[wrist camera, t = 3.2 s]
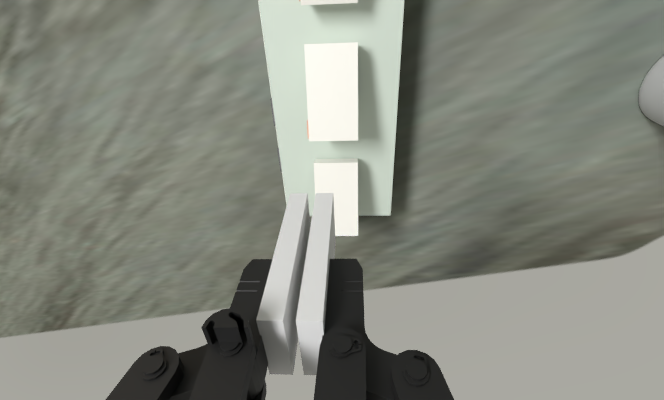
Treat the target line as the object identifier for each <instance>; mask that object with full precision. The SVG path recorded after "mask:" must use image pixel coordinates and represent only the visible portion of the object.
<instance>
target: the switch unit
mask: <svg viewBox="0 0 664 400" xmlns="http://www.w3.org/2000/svg"><path fill="white" fill-rule="evenodd" d="M258 3H259V10H260V17H261V24H262V32H263V39H264V46H265V53H266V60H267V68H268V75H269V82H270V89H271V97H272V98H271V107H272V114H273V121H274V126H276V133H277V140H278V156H279V163H280V170H281V172H282V176H283V183H284V190H285V198H286V205H287V204H288V200H289V196H290V193H308V203H309V214H310V216H312V214H313V208H314V201H315V182H314V161H315V159H346V158H358V216H391V201H392V185H393V170H394V154H395V138H396V123H397V107H398V92H399V76H400V61H401V45H402V29H403V14H404V0H358V3H344V4H321V5H301V1H299V0H258ZM352 42H358V140H357V141H309V139H308V135H307V120H308V111H307V91H306V72H305V52H304V44H324V43H352Z"/></svg>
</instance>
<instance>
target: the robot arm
mask: <svg viewBox="0 0 664 400" xmlns="http://www.w3.org/2000/svg"><path fill="white" fill-rule="evenodd" d="M334 258H335V220H334V198H333V193H316V195H315V201H314V208H313V214H312V221H311V224H310V214H309V203H308V193H290V196H289V200H288V204H287V207H286V211H285V215H284V219H283V222H282V226H281V230H280V233H279V237H278V241H277V245H276V248H275V252H274V256H273V259H253V260H252V261H251V262H250V263H249V264H248V265H247V266H246V267H245V269H244V270H243V273H242V276H241V279H240V283H239V284H238V287H237V292H236V293H235V296H234V298H233V301H232V304H231V307H230V309H223V310H220V311H218V312H217V313H214V314H213V315H211V316H210V317H209V318H208V319H207V320H206V321H205V323H204V324H203V326H202V330H203V332H204V335H205V337H206V340H207V343H208V344H206V345H204V346H202V347H199V348H196V349H193V350H189V351H185V352H182V353H179V354H178V353H177V352H176V350H175V349H173V348H171V347H166V346H160V347H157V348H154V349H151V350H149V351H147V352H146V353H144V354H142V355H141V357H139V358H138V360H136V362H134V364H133V365H132V366H131V368H130V369H129V370H128V372H127V373H126V374H125V375H124V377H123V378H122V379H121V381H120V382H119V383H118V384H117V386H116V387H115V388H114V390H113V391H112V392H111V393H110V395H109V396H108V397H107V399H106V400H265V397H266V383H265V376H266V371H267V367H268V369H269V373H270V374H292V375H293V371H294V364H295V356H296V350H297V343H298V339H299V345H300V352H301V358H302V365H303V371H304V375H316V385H315V394H314V400H454V399H453V396H452V394H451V392H450V390H449V388H448V385H447V383H446V381H445V379H444V377H443V374H442V372H441V370H440V368H439V366H438V365H437V363H436V362H435V360H434V359H432V358H431V357H430V356H429V355H427V354H426V353H423V352H420V351H417V350H407V351H404V352H402V353H399V354H398V355H396V354H393V353H390V352H387V351H384V350H382V349H380V348H378V347H376V346H375V345H374V344H373V343H372V342H371V341H370V340H369V339H368V337H367V335H366V333H365V328H364V300H363V270H362V267H361V266H360V264H359V262H358V261H357V259H334Z"/></svg>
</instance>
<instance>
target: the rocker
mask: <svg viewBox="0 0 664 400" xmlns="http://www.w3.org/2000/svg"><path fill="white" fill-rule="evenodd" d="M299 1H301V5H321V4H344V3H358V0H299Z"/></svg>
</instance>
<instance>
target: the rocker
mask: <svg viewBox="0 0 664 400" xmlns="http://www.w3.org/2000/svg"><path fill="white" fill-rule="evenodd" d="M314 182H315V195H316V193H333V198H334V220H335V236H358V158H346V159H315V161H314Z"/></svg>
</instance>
